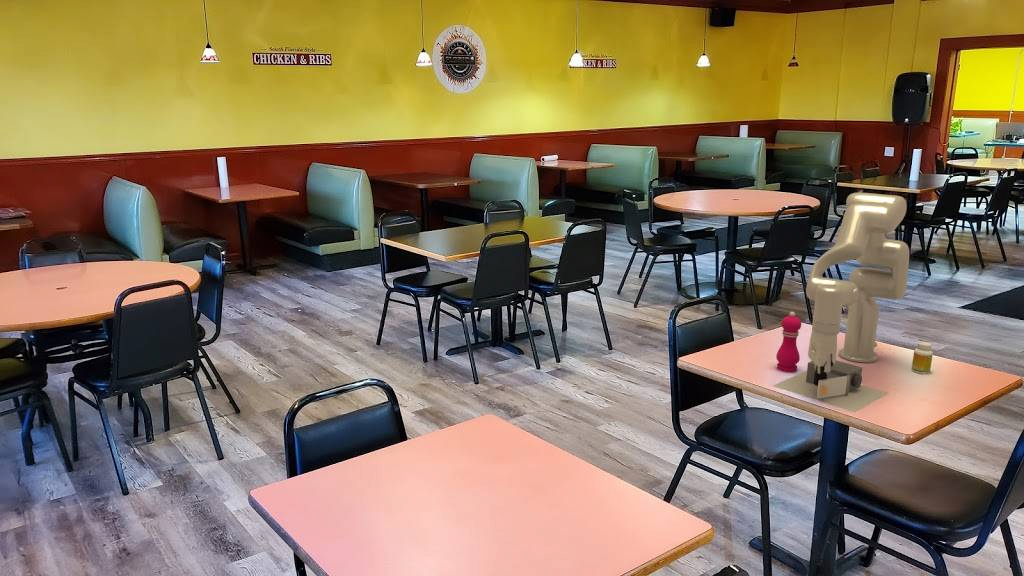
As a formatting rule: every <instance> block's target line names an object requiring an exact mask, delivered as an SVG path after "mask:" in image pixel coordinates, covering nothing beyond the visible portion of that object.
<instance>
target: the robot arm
mask: <svg viewBox="0 0 1024 576" xmlns="http://www.w3.org/2000/svg"><path fill="white" fill-rule="evenodd" d="M845 203H846V204H845V205H846V208H845V209H846V210H845V212H844V215H843V218H842V222H841V224H840V228H839V231H838V234H837V238H836V241H835V244H834V246H833V247H832V248H830V249H828V250H827V251H826V252H824V253H823V254H822V255H821V256H820V257H819V258H817V260H816V261H815V262H814V264H813V265H812V267H811V270H810V273H809V276H808V280H807V284H806V289H805V292H806V297H807V298H808V299H809V300H810V301H813V302H814V304H813V306H814V307H813V316H812V323H811V324H812V325H811V326H812V327H811V334H810V337H809V338H810V339H809V346H808V353H807V356H808V358H809V360H810V361H813V362H814V363H815V368H814V369H815V373H814V382H813V383H814V384H815V386H818V382H819V380H824V379H827V374H828V372H830V371H831V367H834V366H835V362H836V360H837V354H838V356H839V357H840V358H842V359H844V360H847V361H850V362H851V361H852V362H856V363H864V364H865V363H866V364H867V363H868V364H869V363H874V362H877V361H878V360H879V355H878V354H877V353H876V352H875V348H877V346H878V343H877V342H876V339H877V331H878V324H879V323H878V322H879V315H880V307H879V305H878V302H877V301H876V299H875V298H877V299H885V300H894V301H898V300H902V299H903V298H904V296H905V295H906V291H907V286H908V285H907V284H908V275H909V264H910V263H909V262H910V248H909V246H908V244H907V243H906V242H904V241H902V240H896V239H889V238H886V235H887V234H891V233H893V232H894V231H895V230H896V229H897V227H898V226H899V225H900V223H901V222H902V221H903V220H904V217H906V213H907V207H908V205H907V201H906V199H905V198H904V197H902V196H899V195H892V194H881V193H869V192H853V193H850V194H849V195H848V196H847V198H846V201H845ZM853 260H856V262H857V263H858V264H860V265H862V266H863V267H862V266H860V267H856V268H854V269H852V271H850V274H849V277H848V280H843V279H836V278H831V277H823V274H824V273H825V272H826V271H827V270H828V269H829V268H831V267H833V266H835V265H837V264H841V263H844V262H849V261H853ZM845 307H848V309H847V310H848V312H847V320H846V327H845V335H844V336H845V337H844V343H843V344H844V345H843V348H840V349H839V350H838V335H839V334H840V331H841V322H842V315H843V308H845ZM837 352H838V353H837Z"/></svg>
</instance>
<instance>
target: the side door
mask: <svg viewBox="0 0 1024 576" xmlns="http://www.w3.org/2000/svg"><path fill="white" fill-rule="evenodd" d="M849 382H850V376H849V375H846V376H843V377H837V378H830V379H824V380H819V382H818V391H817V398H818V399H820V398H826V397H832V396H838V395H848V390H849Z"/></svg>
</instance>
